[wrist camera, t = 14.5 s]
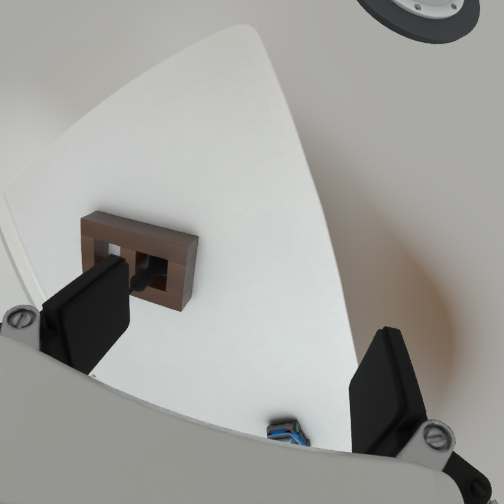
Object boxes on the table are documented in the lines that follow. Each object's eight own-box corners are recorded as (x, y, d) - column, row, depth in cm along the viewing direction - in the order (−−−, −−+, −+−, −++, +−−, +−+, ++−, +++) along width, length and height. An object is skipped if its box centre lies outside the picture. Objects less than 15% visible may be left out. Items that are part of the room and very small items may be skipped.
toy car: (287, 449, 56) (284, 470, 51) (265, 419, 53) (260, 442, 47) (313, 445, 54) (312, 467, 49) (294, 414, 51) (291, 438, 46)
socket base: (96, 210, 43) (80, 218, 39) (198, 236, 41) (187, 247, 37) (97, 267, 46) (82, 277, 43) (191, 297, 45) (181, 312, 41)
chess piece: (145, 261, 44) (109, 293, 35) (157, 239, 42) (120, 268, 33) (169, 279, 44) (137, 315, 35) (182, 257, 43) (150, 291, 34)
